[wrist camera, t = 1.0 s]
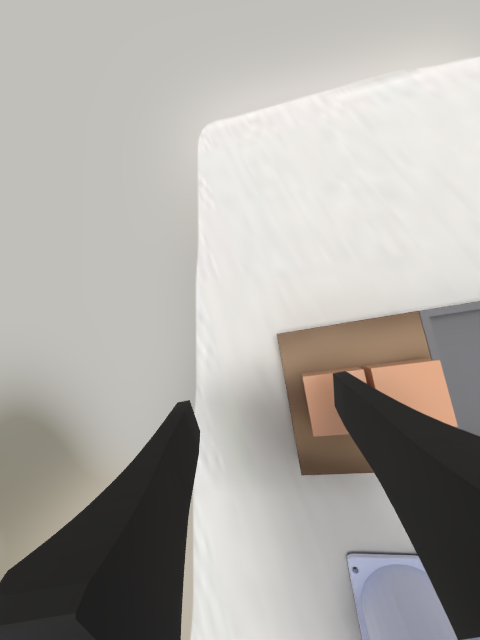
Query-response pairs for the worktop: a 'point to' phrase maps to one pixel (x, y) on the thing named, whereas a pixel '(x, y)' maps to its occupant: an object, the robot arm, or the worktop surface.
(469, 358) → the box
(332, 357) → the board
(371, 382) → the tile
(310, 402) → the tile
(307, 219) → the worktop surface
